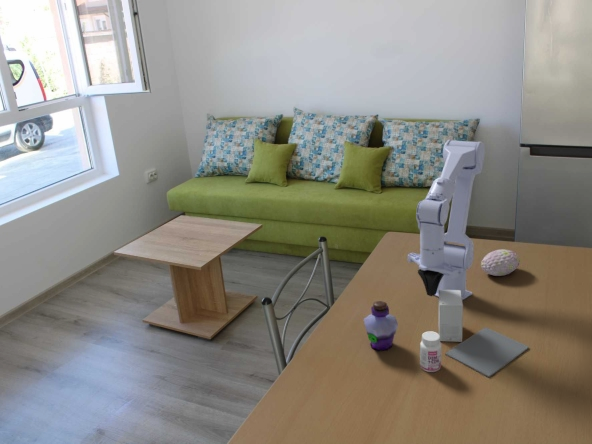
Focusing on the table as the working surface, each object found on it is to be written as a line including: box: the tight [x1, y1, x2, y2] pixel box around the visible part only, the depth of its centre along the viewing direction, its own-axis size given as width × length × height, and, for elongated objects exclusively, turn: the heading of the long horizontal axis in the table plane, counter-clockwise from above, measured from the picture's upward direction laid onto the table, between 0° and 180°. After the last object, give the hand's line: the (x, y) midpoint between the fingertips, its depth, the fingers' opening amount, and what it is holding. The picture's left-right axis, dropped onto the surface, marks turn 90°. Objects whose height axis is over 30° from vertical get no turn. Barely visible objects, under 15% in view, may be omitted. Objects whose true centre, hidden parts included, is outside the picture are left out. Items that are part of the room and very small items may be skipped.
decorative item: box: [480, 248, 521, 277], centre depth 166 cm, size 9×11×10 cm
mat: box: [444, 326, 530, 378], centre depth 132 cm, size 12×16×1 cm
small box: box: [438, 290, 464, 343], centre depth 138 cm, size 8×6×10 cm
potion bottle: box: [363, 300, 399, 352], centre depth 136 cm, size 9×9×12 cm
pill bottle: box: [419, 330, 442, 373], centre depth 127 cm, size 5×5×8 cm
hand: (431, 294), depth 141 cm, fingers closed
